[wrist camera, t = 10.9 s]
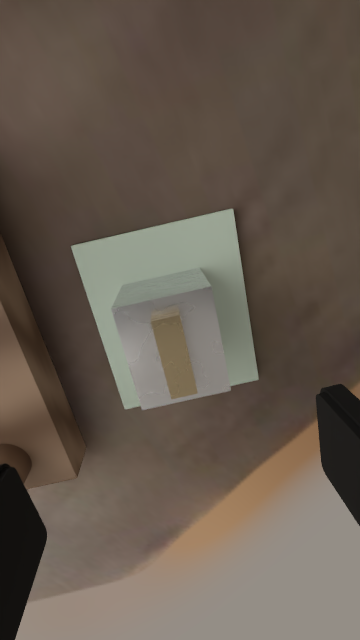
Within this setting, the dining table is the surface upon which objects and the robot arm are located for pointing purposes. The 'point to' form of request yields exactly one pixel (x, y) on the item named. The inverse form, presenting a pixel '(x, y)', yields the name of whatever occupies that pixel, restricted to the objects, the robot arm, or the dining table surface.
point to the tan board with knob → (32, 394)
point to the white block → (171, 338)
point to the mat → (163, 259)
